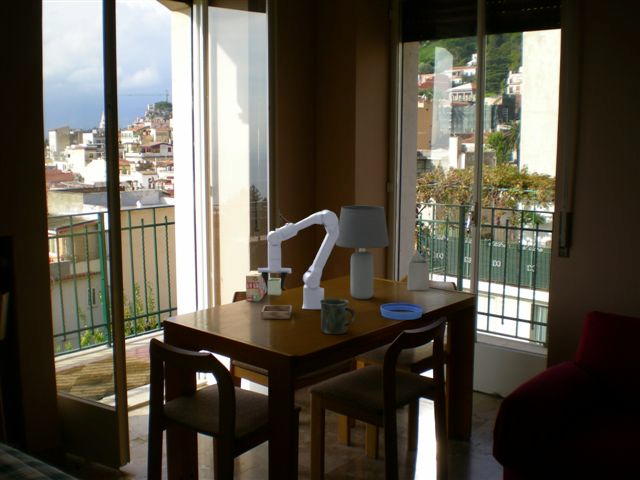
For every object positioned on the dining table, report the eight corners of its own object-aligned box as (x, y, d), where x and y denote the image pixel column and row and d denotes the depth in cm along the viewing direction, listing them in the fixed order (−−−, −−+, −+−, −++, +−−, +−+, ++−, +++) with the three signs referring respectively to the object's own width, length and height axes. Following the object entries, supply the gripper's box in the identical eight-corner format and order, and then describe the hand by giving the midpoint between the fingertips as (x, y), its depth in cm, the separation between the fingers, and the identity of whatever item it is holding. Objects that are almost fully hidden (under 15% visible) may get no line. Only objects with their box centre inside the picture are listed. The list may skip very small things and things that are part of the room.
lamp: (375, 290, 342) (376, 204, 336) (397, 301, 319) (398, 209, 313) (328, 293, 334) (328, 205, 328) (346, 305, 311) (347, 210, 305)
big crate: (292, 312, 298) (292, 305, 297) (290, 319, 286) (290, 312, 285) (264, 311, 298) (264, 305, 298) (261, 318, 286) (261, 311, 286)
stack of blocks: (254, 291, 340) (254, 267, 338) (267, 291, 340) (267, 267, 338) (246, 301, 319) (245, 275, 317) (259, 301, 318) (259, 275, 317)
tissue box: (421, 292, 338) (422, 253, 336) (407, 290, 343) (407, 252, 341) (436, 287, 351) (437, 249, 349) (422, 285, 356) (423, 248, 353)
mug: (329, 326, 275) (329, 296, 273) (361, 331, 267) (361, 301, 266) (314, 332, 266) (314, 302, 264) (347, 338, 258) (347, 306, 256)
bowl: (395, 322, 281) (395, 314, 281) (372, 313, 297) (372, 305, 297) (431, 317, 290) (431, 309, 289) (407, 308, 305) (407, 301, 305)
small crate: (281, 291, 306) (281, 278, 305) (280, 295, 299) (280, 281, 298) (269, 291, 306) (269, 278, 305) (267, 294, 299) (267, 281, 298)
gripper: (291, 257, 304) (291, 287, 306) (259, 257, 304) (259, 287, 306) (290, 260, 297) (290, 290, 299) (257, 259, 298) (257, 290, 299)
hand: (274, 289), depth 302 cm, fingers closed on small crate, 5 cm apart
